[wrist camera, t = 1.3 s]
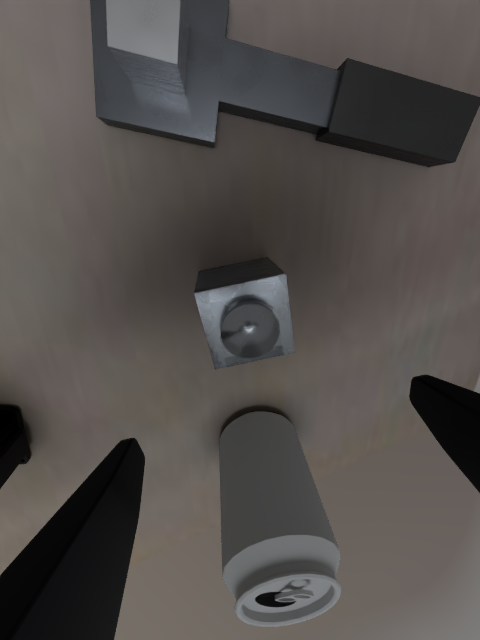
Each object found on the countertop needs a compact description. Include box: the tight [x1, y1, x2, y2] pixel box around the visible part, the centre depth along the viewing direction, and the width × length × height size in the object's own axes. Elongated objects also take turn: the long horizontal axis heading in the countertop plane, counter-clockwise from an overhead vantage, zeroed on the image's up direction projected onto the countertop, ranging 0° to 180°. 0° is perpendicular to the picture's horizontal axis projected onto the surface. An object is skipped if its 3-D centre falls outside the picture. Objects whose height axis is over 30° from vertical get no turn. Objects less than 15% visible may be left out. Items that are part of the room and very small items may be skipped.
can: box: [219, 411, 341, 627], centre depth 19 cm, size 8×8×12 cm
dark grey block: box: [194, 257, 295, 369], centre depth 16 cm, size 5×5×6 cm
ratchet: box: [90, 0, 480, 167], centre depth 12 cm, size 20×6×4 cm, turn 81°
